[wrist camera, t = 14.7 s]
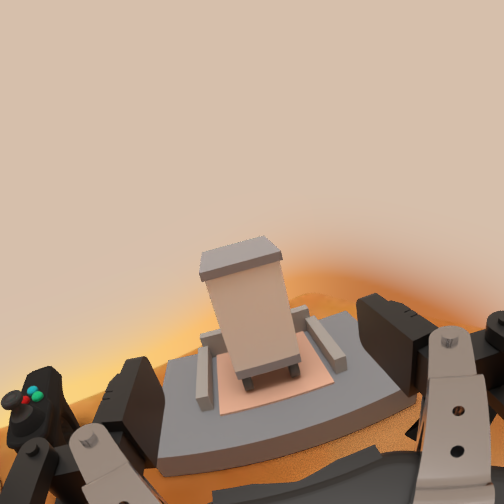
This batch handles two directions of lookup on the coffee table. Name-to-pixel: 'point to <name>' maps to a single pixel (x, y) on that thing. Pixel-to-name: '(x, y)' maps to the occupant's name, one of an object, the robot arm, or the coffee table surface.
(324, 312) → the coffee table surface
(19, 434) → the controller
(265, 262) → the box with lid
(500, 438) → the coffee table surface
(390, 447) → the coffee table surface
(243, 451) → the dock
